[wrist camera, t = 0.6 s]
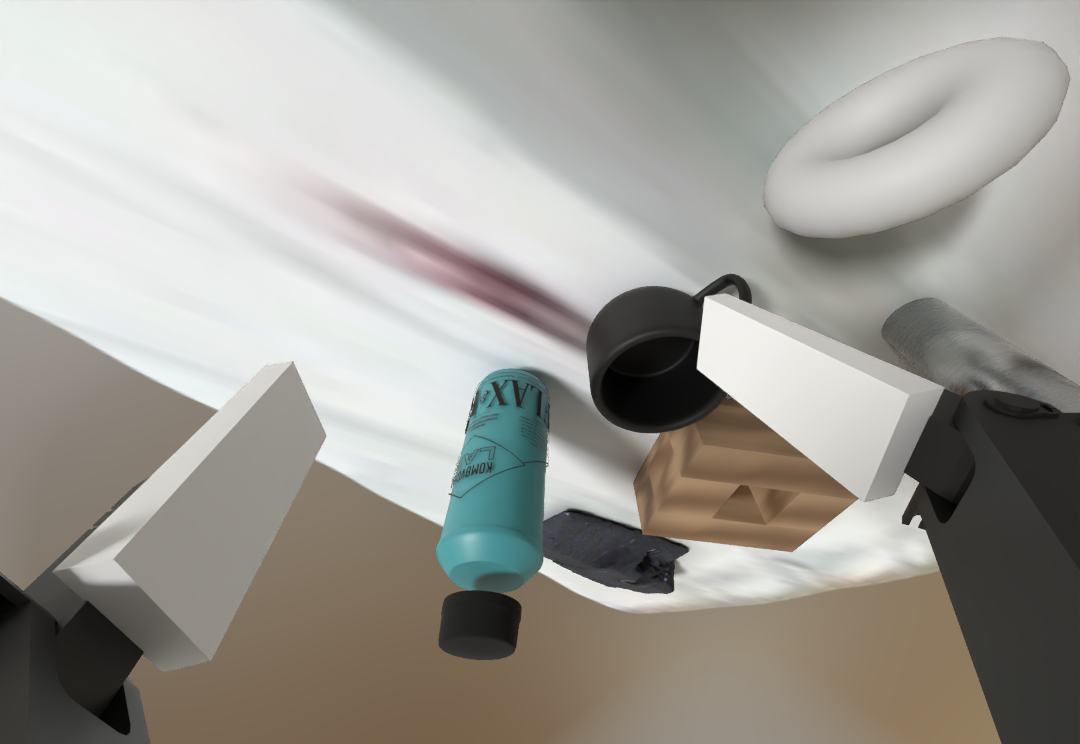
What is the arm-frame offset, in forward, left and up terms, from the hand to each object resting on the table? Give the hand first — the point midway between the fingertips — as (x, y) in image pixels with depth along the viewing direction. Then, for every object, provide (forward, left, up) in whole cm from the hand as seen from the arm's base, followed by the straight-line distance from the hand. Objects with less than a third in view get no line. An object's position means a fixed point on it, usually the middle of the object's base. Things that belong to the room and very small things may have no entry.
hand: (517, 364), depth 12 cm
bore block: (+20, +23, -16) cm, 34 cm away
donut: (-7, +15, -16) cm, 23 cm away
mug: (+6, +10, -16) cm, 20 cm away
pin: (+3, +29, -16) cm, 33 cm away
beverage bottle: (+15, 0, -16) cm, 22 cm away
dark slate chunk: (+42, +15, -17) cm, 47 cm away
